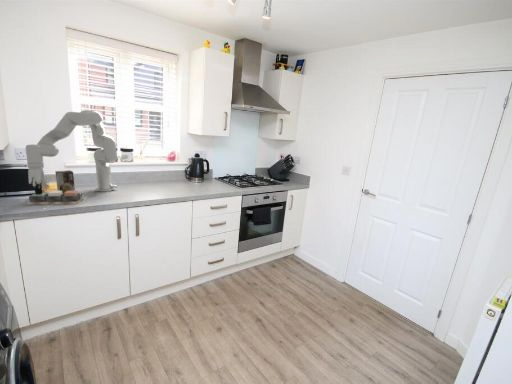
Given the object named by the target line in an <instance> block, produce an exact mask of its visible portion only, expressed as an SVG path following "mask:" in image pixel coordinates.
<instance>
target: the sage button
mask: <svg viewBox="0 0 512 384" xmlns="http://www.w3.org/2000/svg"><path fill="white" fill-rule="evenodd" d="M46 194H47V192H42V194H35V193H32V194H31V195H32V196H45V195H46Z"/></svg>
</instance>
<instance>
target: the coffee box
mask: <svg viewBox="0 0 512 384" xmlns="http://www.w3.org/2000/svg"><path fill="white" fill-rule="evenodd" d="M55 179H56V188H57V190H56V191H62V192H63V193H65V192H66V191H76V188H75V187H76V186H75V177H74V171H72V170H58V171H57V170H56V171H55Z"/></svg>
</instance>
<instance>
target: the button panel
mask: <svg viewBox="0 0 512 384" xmlns="http://www.w3.org/2000/svg"><path fill="white" fill-rule="evenodd" d="M46 193H47V192H46ZM48 193H49V192H48ZM48 193H47V194H46V195H45V196H32V195H33V194H30V195H29V196H28V200H29V201H26V203H25V204H26V205H68V204H69V205H72V204H74V205H77V204H80V203H81V202H82V201H83V200H84V197H81V192H78V194H77V195H76V196H65V195H64V193H63V194H62V195H61V196H48Z"/></svg>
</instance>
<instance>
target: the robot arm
mask: <svg viewBox="0 0 512 384" xmlns="http://www.w3.org/2000/svg"><path fill="white" fill-rule="evenodd" d="M102 121H103V115H102V113H100V112H99V111H96V110H88V109H87V110H81V111H80V112H76V111H68V112H66V113H65V114H63V116H62V118H61V119H60V120H59V122H58V123H57V124H56V126H55V127H54V128H53V129H51V130H50V131H48V132H47V133H46V134H44V135H43V136H42V137H41V138H40V140H39V141H38V142H37V144H27V145H25V153H26V154H25V155H26V163H27V169H28V171H27V172H28V173H27V175H28V178H27V179H28V184H29V185H32V187H33V188H34V192H35V194H42V193H43V183H44V182H45V174H44V168H45V167H44V166H45V165H44V158H43V157H49V158H52V157H56V156H57V155H59V153H60V152H59V151H60V150H59V149H58V147H57V146H56V145H55V144H56V142H59V141H60V140H61V141H62V140H63V139H64V140H65V139H67V138H68V137H70V135H71V134H72V132H73V131H74V130H75V128H76V126H78V127H82V126H85V127H86V126H89V128H90V130H91V131H90V132H91V136H92V141H93V145H94V146H95V147H97V148H98V149H96V150H95V151H94V152H93V158H94V162H95V170H96V172H95V173H96V187H95V188H94V190H95V191H96V192H110V191H114V188H115V189H117V188H118V187H119V186H118V185H116V184H113V183H112V175H111V164H114V163H115V162H117V159H118V152H117V146H116V141H115V139H114V137H112V136H111V135H107V133H106V129H105V126H104V124H103V122H102Z"/></svg>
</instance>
